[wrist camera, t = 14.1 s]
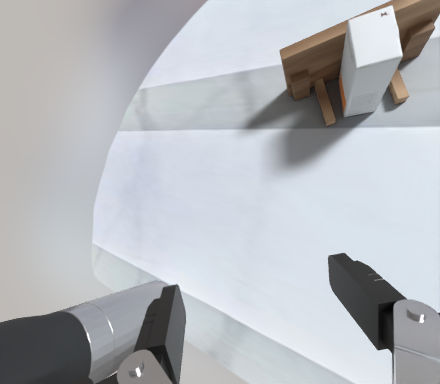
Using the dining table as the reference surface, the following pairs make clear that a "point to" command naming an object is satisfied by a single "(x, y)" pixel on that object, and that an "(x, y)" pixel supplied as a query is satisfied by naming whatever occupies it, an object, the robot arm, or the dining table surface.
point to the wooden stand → (334, 44)
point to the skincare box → (368, 60)
